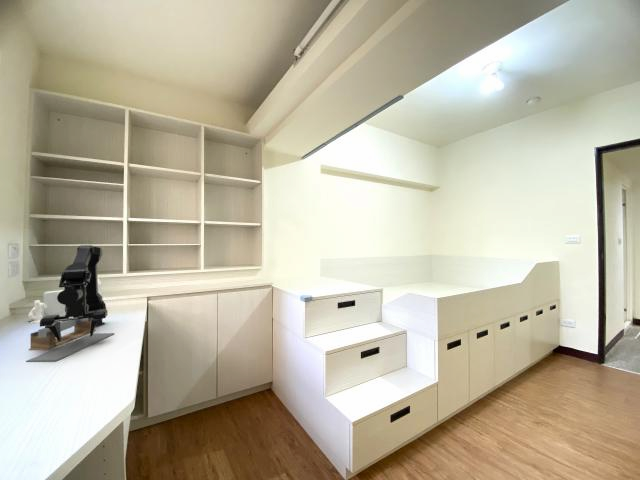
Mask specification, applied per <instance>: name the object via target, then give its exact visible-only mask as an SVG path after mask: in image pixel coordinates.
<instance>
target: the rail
mask: <svg viewBox="0 0 640 480" xmlns="http://www.w3.org/2000/svg"><path fill="white" fill-rule="evenodd" d="M80 317H83V316H80ZM72 318H74V317H72ZM86 321H88V318H84V319H76V320H68V321H60V322H61V323H60V331H61V332H63V331H66V330H68V329H71V328H73V327H74V326H76V325H78V324H81V323H83V322H86ZM37 331H38V338H45V337H47V333H49V332H52V331H51V330H50V329H49V328H45V327H43V328H40V329H38V330H37Z"/></svg>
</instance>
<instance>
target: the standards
mask: <svg viewBox="0 0 640 480" xmlns="http://www.w3.org/2000/svg"><path fill="white" fill-rule="evenodd" d="M92 320H93V318H90V319H88V321H86V322H83V323H81V324H78V325H76V326H73V327H74V330H73V331H72V332H69V333H67V334H64V335H61V341H60V342H59V341H58V340H57V338H56V337H55V335H54V334H53V333H52V332H49V333H47V337H45V338H38V330H37V331H34V332H31V333H30V347H29V348H28V351H51V350H53V349H56V348H58V347H60V346H63V345H65V344H68V343H70V342H72V341H75V340H77V339H80V338H82V337H84V336H87V335H89V334H90V330H91V321H92ZM96 331H97V329H96V328H95V330H94V332H96Z"/></svg>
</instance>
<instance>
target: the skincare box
mask: <svg viewBox="0 0 640 480" xmlns="http://www.w3.org/2000/svg"><path fill="white" fill-rule="evenodd" d="M63 290H64V289H61V290H60V289H59V290H58V289H57V290H51V291H45V292H44V293H42V296H43V303H44V304H46V306H47V308H46V309H43V318H44V317H46V316H49V315H58V314H59V316H60V317H61V316H65V315H66V312H65V305H63V304H61V303H59V302H58V300H57V296H58V294H59V293H60V292H61V291H63Z"/></svg>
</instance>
